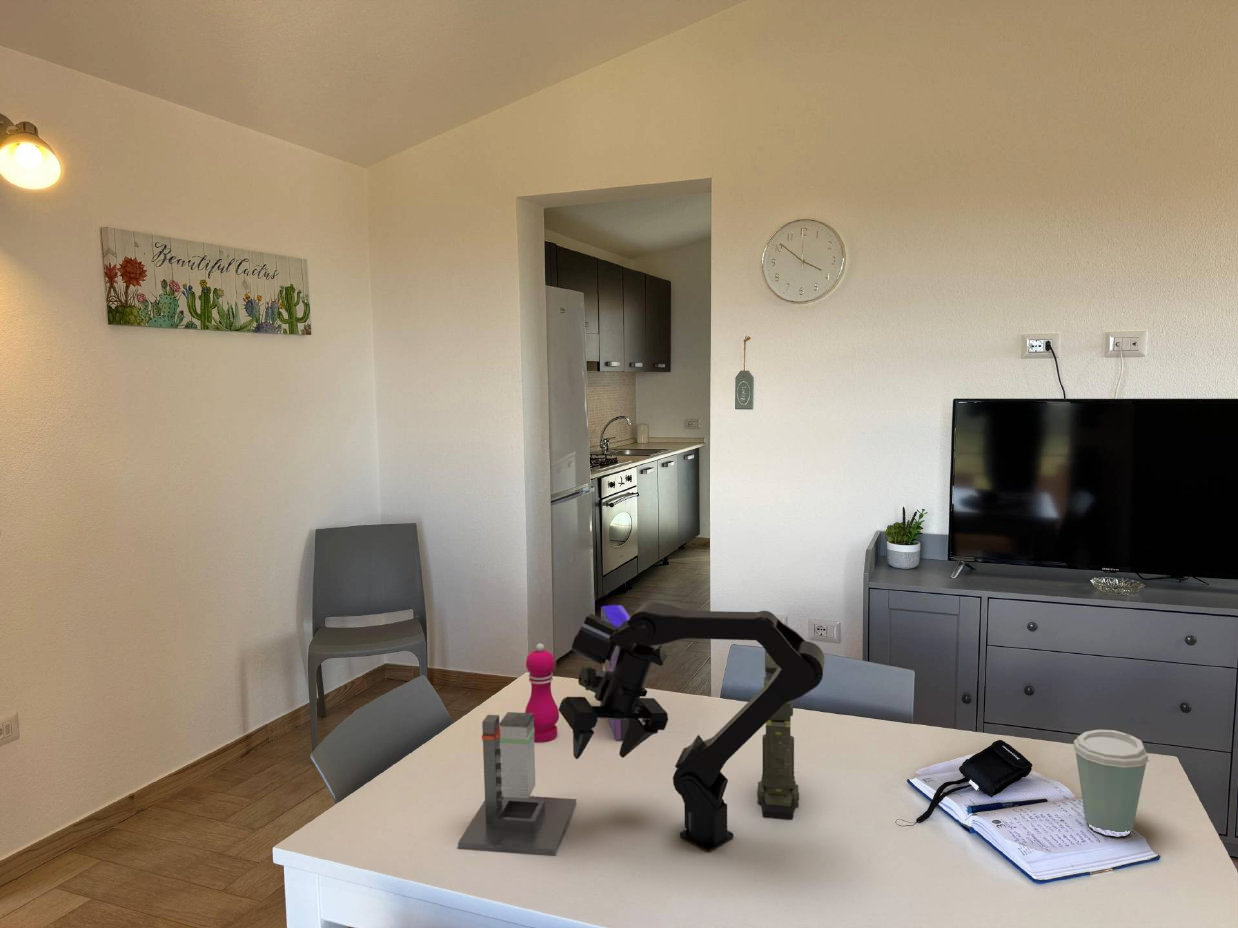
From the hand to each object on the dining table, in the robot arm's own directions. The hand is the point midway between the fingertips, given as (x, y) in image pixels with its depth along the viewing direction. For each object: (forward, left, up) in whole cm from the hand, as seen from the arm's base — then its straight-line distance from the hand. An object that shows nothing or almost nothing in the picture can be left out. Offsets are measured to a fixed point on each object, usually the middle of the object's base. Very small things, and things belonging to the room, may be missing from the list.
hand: (598, 756), depth 141 cm
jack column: (+9, +10, -5) cm, 15 cm away
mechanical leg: (-17, -27, -12) cm, 34 cm away
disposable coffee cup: (-60, -58, -12) cm, 84 cm away
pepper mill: (+34, -14, -12) cm, 39 cm away
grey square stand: (+9, +10, -12) cm, 18 cm away
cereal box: (+27, -30, -12) cm, 42 cm away
